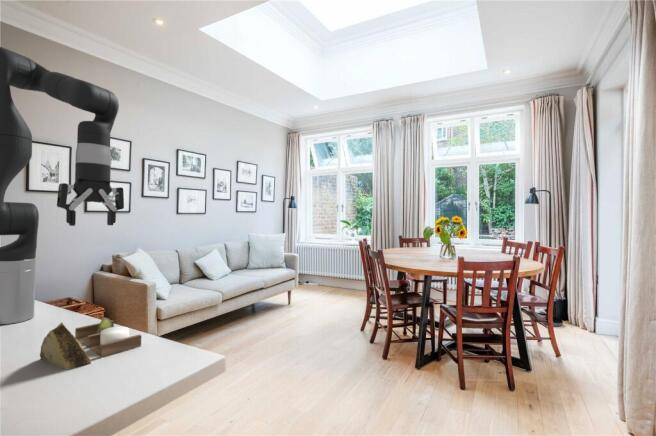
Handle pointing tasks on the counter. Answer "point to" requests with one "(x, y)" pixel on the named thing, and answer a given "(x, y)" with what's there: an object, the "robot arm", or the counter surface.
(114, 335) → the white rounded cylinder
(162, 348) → the counter surface
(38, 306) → the counter surface
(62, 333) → the rock
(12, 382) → the counter surface
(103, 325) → the lime
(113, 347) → the rack
